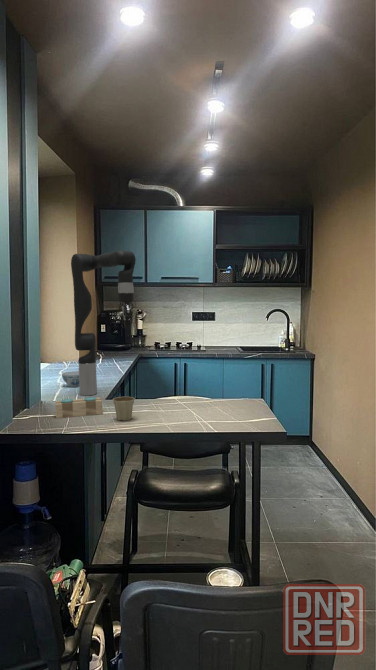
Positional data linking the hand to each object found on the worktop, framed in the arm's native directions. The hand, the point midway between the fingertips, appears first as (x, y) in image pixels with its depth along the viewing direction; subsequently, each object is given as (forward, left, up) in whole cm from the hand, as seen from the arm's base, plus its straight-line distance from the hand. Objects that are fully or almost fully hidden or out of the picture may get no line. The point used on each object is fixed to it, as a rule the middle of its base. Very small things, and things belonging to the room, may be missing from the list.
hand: (127, 327), depth 220 cm
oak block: (+16, -25, -37) cm, 47 cm away
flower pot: (+31, -7, -37) cm, 49 cm away
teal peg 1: (+16, -30, -37) cm, 50 cm away
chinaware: (-56, -24, -37) cm, 71 cm away
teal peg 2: (+16, -20, -37) cm, 45 cm away
